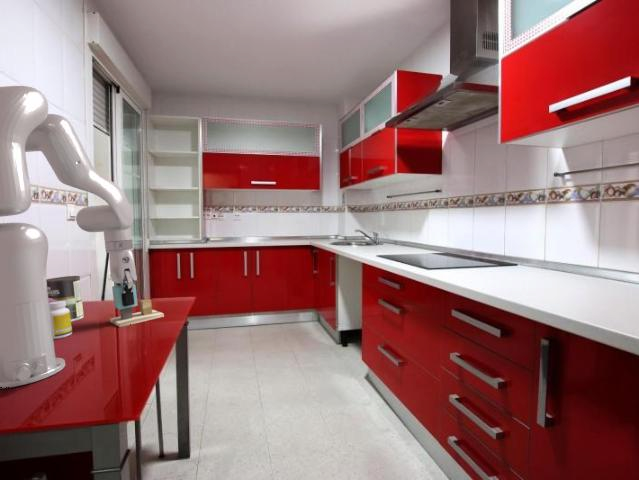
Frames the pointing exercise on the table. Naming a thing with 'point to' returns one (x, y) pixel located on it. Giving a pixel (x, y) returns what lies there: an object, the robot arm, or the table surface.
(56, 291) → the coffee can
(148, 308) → the post stand
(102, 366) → the table surface
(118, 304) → the pale teal cube
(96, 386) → the table surface
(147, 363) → the table surface
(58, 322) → the supplement bottle
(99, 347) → the table surface
